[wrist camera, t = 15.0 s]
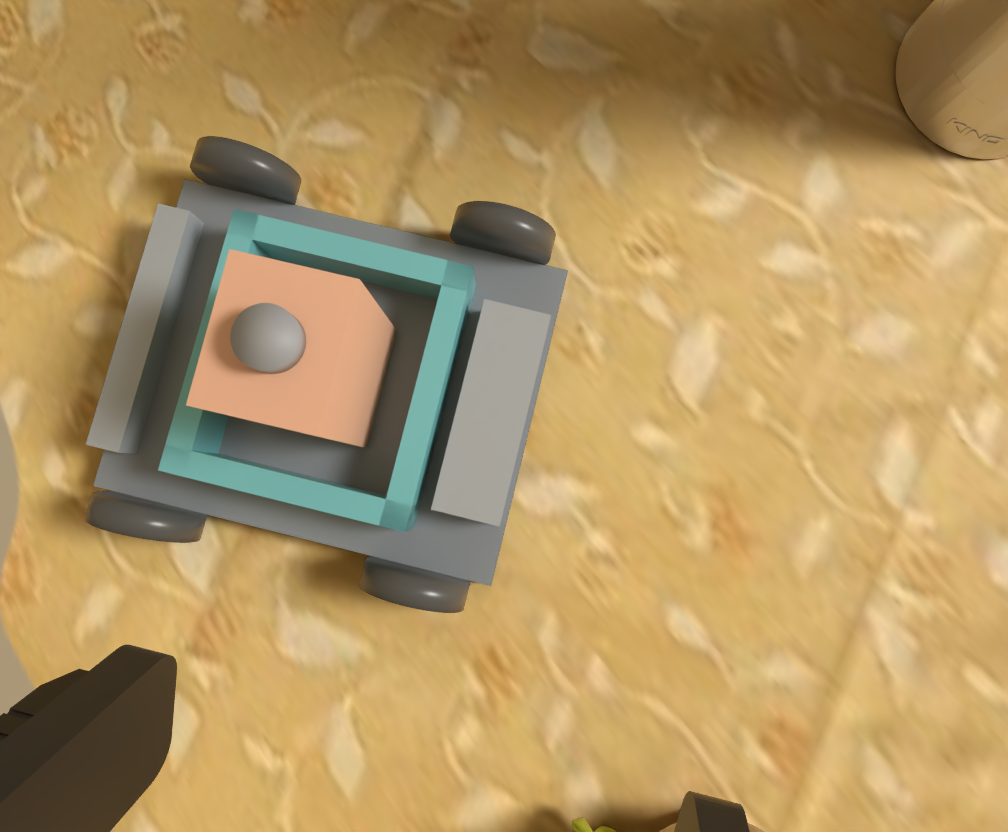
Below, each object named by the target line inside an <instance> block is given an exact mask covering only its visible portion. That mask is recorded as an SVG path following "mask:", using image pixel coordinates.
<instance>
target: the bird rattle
mask: <svg viewBox="0 0 1008 832" xmlns="http://www.w3.org/2000/svg"><path fill="white" fill-rule="evenodd" d="M572 826H573V829H574V830H575V832H593V831H592V829H591V828H590V826H589V825H588V823H587V821H586V820H585V819H584V818H578V819H575V820H573V821H572ZM675 827H676V823H674V824H672V825H670V826H668V827H666V828H664V829H662V830H661V831H659V832H674V830H675ZM748 827H749V831H750V832H764V831H762V830H761V829H759V828H757V827H755V826H753V825H751V824H748ZM594 832H616V831H615V830H614V829H612V828H609V827H606V826H601V827H599V828H598V829H596V830H595V831H594Z"/></svg>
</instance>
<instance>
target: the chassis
mask: <svg viewBox="0 0 1008 832" xmlns="http://www.w3.org/2000/svg"><path fill="white" fill-rule="evenodd" d="M190 168H191V170H192V172H193V173H194V174H195V175H196V176H197V177H198V178H200V179H201V180H202V181H204V182H205V183H207V184H205V183H201V182H197V181H193V180H188V179H184V183H183V186H182V190H181V193H180V196H179V200H178V203H177V206H176V207H171V206H167V205H163V204H159V203H158V205H157V209H156V212H155V215H154V219H153V222H152V225H151V229H150V232H149V235H148V239H147V242H146V245H145V249H144V252H143V255H142V259H141V262H140V265H139V269H138V272H137V275H136V279H135V282H134V285H133V289H132V292H131V295H130V299H129V302H128V305H127V308H126V312H125V315H124V318H123V322H122V325H121V328H120V332H119V335H118V338H117V342H116V345H115V348H114V352H113V355H112V358H111V362H110V365H109V368H108V372H107V375H106V378H105V382H104V385H103V388H102V392H101V395H100V398H99V402H98V405H97V408H96V412H95V415H94V418H93V422H92V425H91V428H90V432H89V435H88V438H87V442H86V445H89V446H93V447H97V448H101V449H104V451H103V455H102V458H101V461H100V465H99V468H98V471H97V475H96V478H95V481H94V485H93V486H95V487H99V488H103V489H107V490H111V491H115V492H110V491H97V492H93V493H92V496H91V500H90V503H89V506H88V510H87V513H86V516H85V521H86V522H87V523H88V524H90V525H92V526H95V527H97V528H100V529H103V530H106V531H110V532H114V533H118V534H122V535H127V536H131V537H137V538H142V539H149V540H156V541H165V542H179V543H189V542H197V541H199V540H200V539H201V535H202V532H203V528H204V524H205V521H206V517H207V515H210V516H214V517H218V518H222V519H226V520H230V521H234V522H238V523H242V524H246V525H250V526H254V527H258V528H262V529H266V530H270V531H274V532H278V533H282V534H286V535H290V536H294V537H298V538H302V539H306V540H310V541H314V542H318V543H322V544H326V545H330V546H334V547H338V548H342V549H346V550H350V551H354V552H358V553H362V554H366V555H370V556H374V557H368V558H366V559H365V563H364V567H363V570H362V574H361V578H360V582H359V587H360V588H361V589H362V590H363V591H365V592H367V593H368V594H370V595H373V596H375V597H377V598H380V599H383V600H386V601H389V602H392V603H395V604H399V605H403V606H407V607H411V608H416V609H421V610H426V611H433V612H443V613H456V612H461V611H463V610H464V606H465V602H466V598H467V594H468V589H469V585H470V582H469V581H473V582H477V583H481V584H485V585H489V586H491V584H492V580H493V576H494V572H495V568H496V564H497V560H498V555H499V551H500V547H501V543H502V539H503V535H504V531H505V527H506V523H507V518H508V514H509V510H510V506H511V502H512V498H513V494H514V490H515V486H516V482H517V477H518V473H519V469H520V465H521V461H522V457H523V453H524V449H525V445H526V441H527V436H528V432H529V428H530V424H531V420H532V416H533V412H534V408H535V404H536V400H537V395H538V391H539V387H540V383H541V379H542V375H543V371H544V367H545V363H546V359H547V354H548V350H549V346H550V342H551V338H552V334H553V330H554V326H555V322H556V317H557V313H558V309H559V305H560V301H561V297H562V293H563V289H564V285H565V281H566V276H567V272H568V270H564V269H560V268H555V267H551V266H547V265H545V264H547V263H548V262H549V260H550V257H551V253H552V249H553V245H554V241H555V237H556V234H555V231H554V229H553V228H552V227H551V226H550V225H549V224H548V223H547V222H546V221H544V220H543V219H541V218H540V217H538V216H536V215H534V214H532V213H530V212H527V211H525V210H522V209H519V208H516V207H513V206H509V205H506V204H501V203H495V202H487V201H473V202H467V203H463V204H461V205H460V206H458V208H457V210H456V214H455V217H454V221H453V225H452V229H451V233H450V236H451V238H452V240H453V241H454V242H455V243H456V244H455V243H451V242H447V241H443V240H439V239H434V238H430V237H426V236H422V235H418V234H414V233H409V232H405V231H401V230H397V229H393V228H389V227H384V226H380V225H376V224H372V223H368V222H364V221H359V220H355V219H351V218H347V217H343V216H339V215H334V214H330V213H326V212H322V211H318V210H313V209H309V208H305V207H301V206H297V205H295V202H296V199H297V195H298V192H299V188H300V184H301V178H300V176H299V174H298V173H297V172H296V171H295V170H294V169H293V168H292V167H291V166H289V165H288V164H287V163H285V162H284V161H282V160H280V159H279V158H277V157H275V156H274V155H272V154H270V153H268V152H266V151H263V150H261V149H259V148H256V147H254V146H251V145H249V144H246V143H243V142H240V141H236V140H232V139H228V138H223V137H215V136H207V137H202V138H200V139H198V141H197V144H196V147H195V151H194V154H193V157H192V161H191V164H190ZM229 249H232V250H236V251H240V252H244V253H249V254H253V255H257V256H262V257H266V258H270V259H275V260H279V261H283V262H288V263H292V264H296V265H301V266H305V267H309V268H314V269H318V270H322V271H327V272H331V273H335V274H339V275H344V276H348V277H352V278H357V279H360V280H361V282H362V283H363V284H364V286H365V287H366V289H367V290H368V291H369V293H370V294H371V295H372V297H373V298H374V300H375V301H376V302H377V304H378V305H379V306H380V308H381V309H382V311H383V312H384V313H385V315H386V316H387V318H388V319H389V320H390V322H391V323H392V324H393V326H394V327H395V329H396V330H397V333H396V337H395V341H394V345H393V349H392V353H391V357H390V360H389V364H388V368H387V372H386V376H385V380H384V384H383V388H382V392H381V396H380V400H379V404H378V408H377V412H376V416H375V420H374V424H373V427H372V431H371V435H370V439H369V443H368V447H367V448H364V447H360V446H356V445H352V444H347V443H343V442H339V441H334V440H330V439H326V438H322V437H317V436H313V435H309V434H305V433H300V432H296V431H292V430H288V429H284V428H279V427H275V426H271V425H267V424H262V423H258V422H254V421H250V420H246V419H241V418H237V417H233V416H229V415H225V414H220V413H216V412H212V411H208V410H203V409H199V408H195V407H191V406H187V405H186V403H187V399H188V396H189V392H190V389H191V385H192V381H193V378H194V374H195V371H196V367H197V363H198V360H199V356H200V353H201V349H202V346H203V342H204V338H205V335H206V331H207V328H208V324H209V320H210V317H211V313H212V310H213V306H214V302H215V299H216V295H217V292H218V288H219V285H220V281H221V277H222V274H223V270H224V267H225V263H226V259H227V256H228V252H229ZM468 580H469V581H468Z"/></svg>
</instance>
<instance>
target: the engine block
mask: <svg viewBox="0 0 1008 832" xmlns="http://www.w3.org/2000/svg"><path fill="white" fill-rule="evenodd" d="M396 333H397V330H396V329H395V327H394V326H393V324H392V323H391V322H390V320H389V319H388V318H387V316H386V315H385V313H384V312H383V311H382V309H381V308H380V306H379V305H378V304H377V302H376V301H375V300H374V298H373V297H372V295H371V294H370V293H369V291H368V290H367V289H366V287H365V286H364V284H363V283H362V282H361V280H360V279H357V278H352V277H348V276H344V275H339V274H335V273H331V272H327V271H322V270H318V269H314V268H309V267H305V266H301V265H296V264H292V263H288V262H283V261H279V260H275V259H270V258H266V257H262V256H257V255H253V254H249V253H244V252H240V251H236V250H232V249H229V252H228V256H227V259H226V263H225V267H224V270H223V274H222V277H221V281H220V285H219V288H218V292H217V295H216V299H215V302H214V306H213V310H212V313H211V317H210V320H209V324H208V328H207V331H206V335H205V338H204V342H203V346H202V349H201V353H200V356H199V360H198V363H197V367H196V371H195V374H194V378H193V381H192V385H191V389H190V392H189V396H188V399H187V403H186V405H187V406H191V407H195V408H199V409H203V410H208V411H212V412H216V413H220V414H225V415H229V416H233V417H237V418H241V419H246V420H250V421H254V422H258V423H262V424H267V425H271V426H275V427H279V428H284V429H288V430H292V431H296V432H300V433H305V434H309V435H313V436H317V437H322V438H326V439H330V440H334V441H339V442H343V443H347V444H352V445H356V446H360V447H364V448H367V447H368V443H369V439H370V435H371V431H372V427H373V424H374V420H375V416H376V412H377V408H378V404H379V400H380V396H381V392H382V388H383V384H384V380H385V376H386V372H387V368H388V364H389V360H390V357H391V353H392V349H393V345H394V341H395V337H396Z"/></svg>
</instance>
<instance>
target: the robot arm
mask: <svg viewBox="0 0 1008 832" xmlns="http://www.w3.org/2000/svg"><path fill="white" fill-rule="evenodd" d="M896 84H897V88H898V93H899V97H900V100H901V102H902V104H903V106H904V108H905V111H906V113H907V115H908V116H909V117H910V119H911V120H912V121H913V123H914V124H915V125H916V127H917V128H918V129H919V130H920V131H921V132H922V133H923V134H924V135H925V136H927V137H928V138H929V139H930V140H931V141H932V142H934V143H936V144H937V145H939V146H941V147H943V148H944V149H946V150H948V151H950V152H953V153H956V154H959V155H962V156H965V157H971V158H979V159H995V158H1004V157H1008V0H934V1H933V2H932V3H931V4H930V5H929V6H928V7H927V9H926V10H925V11H924V12H923V13H922V14H921V15H920V16H919V18H918V19H917V20H916V21H915V22H914V24H913V25H912V26H911V27H910V29H909V30H908V31H907V33H906V35H905V37H904V39H903V41H902V43H901V45H900V47H899V52H898V56H897V61H896ZM176 675H177V663H176V660H175V658H174V657H173V656H171V655H167V654H163V653H159V652H155V651H151V650H148V649H144V648H140V647H136V646H132V645H123V646H121V647H119V648H118V649H116V650H115V651H114V652H113V653H111V654H110V655H109V656H108V657H106V658H105V659H104V660H103V661H101V662H100V663H99V664H98V665H96V666H95V667H94V668H93V669H91V670H90V671H86V670H82V669H78V670H75V671H73V672H71V673H68V674H66V675H64V676H61V677H59V678H57V679H54V680H52V681H50V682H47V683H45V684H43V685H40V686H39V687H38V688H36V689H35V690H34V691H32V692H31V693H30V694H29V695H27V696H26V697H25V698H23V699H22V700H21V701H19V702H18V703H17V704H15V705H14V706H13V707H11V708H10V710H9V712H8V713H7V714H5V713H3V714H2V715H1V716H0V832H110V831H111V830H112V829H113V827H114V826H115V825H116V824H117V823H118V822H119V820H120V819H121V818H122V817H123V816H124V815H125V814H126V812H127V811H128V810H129V809H130V808H131V807H132V805H133V804H134V803H135V802H136V801H137V800H138V798H139V797H140V796H141V795H142V794H143V793H144V792H145V790H146V789H147V788H148V787H149V786H150V785H151V783H152V782H153V781H154V779H155V778H156V776H157V775H158V773H159V771H160V770H161V768H162V766H163V764H164V761H165V759H166V757H167V754H168V751H169V748H170V743H171V737H172V725H173V713H174V700H175V687H176ZM674 832H750V831H749V827H748V823H747V819H746V815H745V812H744V809H743V807H742V806H741V805H740V804H738V803H734V802H730V801H726V800H722V799H718V798H714V797H711V796H707V795H703V794H699V793H695V792H691V791H689V792H687V794H686V795H685V797H684V800H683V803H682V806H681V809H680V813H679V816H678V820H677V823H676V827H675V830H674Z"/></svg>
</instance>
